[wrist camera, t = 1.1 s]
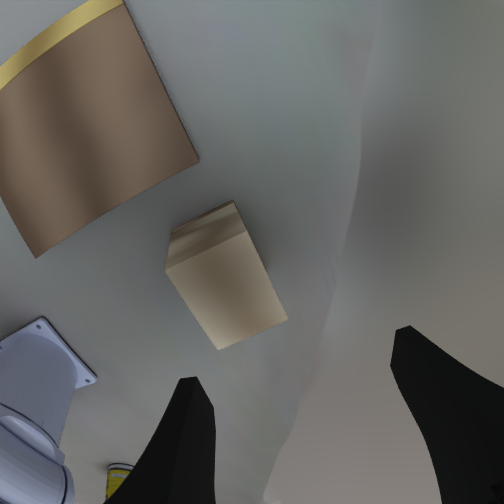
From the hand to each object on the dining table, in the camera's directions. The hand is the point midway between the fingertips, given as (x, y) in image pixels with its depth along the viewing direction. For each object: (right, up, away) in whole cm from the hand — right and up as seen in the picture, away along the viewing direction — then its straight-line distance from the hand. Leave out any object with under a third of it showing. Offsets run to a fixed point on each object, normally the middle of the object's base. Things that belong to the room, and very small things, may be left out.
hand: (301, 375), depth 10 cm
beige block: (-4, +4, +11) cm, 13 cm away
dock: (-13, +13, +6) cm, 19 cm away
